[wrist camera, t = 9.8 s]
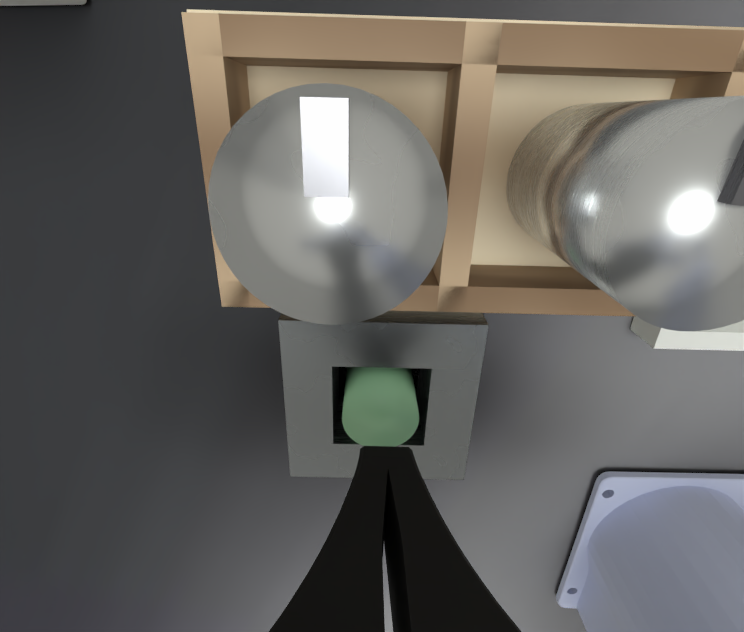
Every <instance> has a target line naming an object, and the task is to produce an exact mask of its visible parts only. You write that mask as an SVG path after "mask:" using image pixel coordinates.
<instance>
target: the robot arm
mask: <svg viewBox="0 0 744 632" xmlns="http://www.w3.org/2000/svg"><path fill="white" fill-rule="evenodd" d="M383 544H385V554H386V564H387V574H388V583H389V593H390V603H391V612H392V622H393V632H521V631H520V629H519V628H518V627H517V626H516V625H515V623H514V622H513V621H512V620H511V618H510V617H509V616H508V615H507V613H506V612H505V611H504V610H503V609H502V607H501V606H500V605H499V604H498V602H497V601H496V600H495V598H494V597H493V595H492V594H491V593H490V591H489V590H488V589H487V587H486V586H485V585H484V583H483V582H482V580H481V579H480V578H479V576H478V575H477V573H476V572H475V570H474V569H473V567H472V566H471V564H470V563H469V561H468V560H467V558H466V557H465V555H464V554H463V552H462V551H461V549H460V547H459V546H458V544H457V542H456V541H455V539H454V537H453V536H452V534H451V532H450V531H449V529H448V527H447V525H446V524H445V522H444V520H443V518H442V517H441V515H440V513H439V511H438V509H437V507H436V505H435V503H434V501H433V499H432V497H431V495H430V493H429V491H428V489H427V487H426V485H425V482H424V480H423V478H422V476H421V473H420V471H419V468H418V466H417V463H416V460H415V457H414V454H413V451H412V449H410V448H409V447H394V446H363V447H362V448H361V449H360V454H359V459H358V464H357V467H356V471H355V474H354V477H353V480H352V483H351V486H350V488H349V491H348V493H347V496H346V498H345V501H344V503H343V506H342V508H341V510H340V513H339V515H338V517H337V519H336V521H335V523H334V525H333V527H332V529H331V532H330V534H329V536H328V538H327V540H326V542H325V544H324V545H323V547H322V549H321V551H320V553H319V555H318V556H317V558H316V560H315V562H314V563H313V565H312V567H311V569H310V570H309V572H308V574H307V575H306V577H305V579H304V580H303V582H302V583H301V585H300V587H299V588H298V590H297V591H296V593H295V595H294V596H293V598H292V599H291V601H290V602H289V604H288V605H287V607H286V608H285V610H284V611H283V613H282V614H281V616H280V617H279V618H278V620H277V621H276V623H275V624H274V625H273V627H272V628H271V629H270V631H269V632H385V628H384V600H383V570H382V557H383ZM556 600H557V602H558V604H559V606H561V607H563V608H577V609H578V612H579V614H580V617H581V619H582V622H583V624H584V626H585V629H586V631H587V632H744V474H715V473H663V472H611V471H609V472H604V473H601V474H600V475H599V476H598V477H597V479H596V482H595V484H594V487H593V490H592V493H591V496H590V499H589V502H588V505H587V508H586V511H585V513H584V516H583V519H582V522H581V525H580V528H579V531H578V534H577V537H576V540H575V542H574V545H573V548H572V551H571V554H570V557H569V560H568V563H567V566H566V569H565V571H564V574H563V577H562V580H561V583H560V586H559V589H558V592H557V595H556Z"/></svg>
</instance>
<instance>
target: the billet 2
mask: <svg viewBox="0 0 744 632" xmlns="http://www.w3.org/2000/svg"><path fill="white" fill-rule="evenodd" d="M507 200H508V204H509V208H510V210H511V213H512V215H513V217H514V218H515V220H516V222H517V223H518V224H519V225H520V227H521V228H522V229H523V230H524V231H525V232H527V233H528V234H529V235H530V236H532V237H533V238H534V239H536V240H537V241H538V242H540V243H541V244H542V245H543V246H545V247H546V248H547V249H549V250H550V251H551V252H553V253H554V254H555V255H557V256H558V257H559V258H560V259H562V260H563V261H564V262H566V263H567V264H568V265H570V266H571V267H572V268H574V269H575V270H576V271H578V272H579V273H580V274H581V275H583V276H584V277H585V278H587V279H588V280H589V281H591V282H592V283H593V284H595V285H596V286H597V287H598V288H600V289H601V290H602V291H604V292H605V293H606V294H608V295H609V296H610V297H612V298H613V299H614V300H615V301H617V302H618V303H619V304H621V305H622V306H623V307H625V308H626V309H627V310H629V311H630V312H631V313H632V314H634V315H635V316H637V317H638V318H640V319H641V320H643V321H645V322H647V323H649V324H652V325H654V326H657V327H660V328H664V329H668V330H675V331H704V330H711V329H716V328H721V327H725V326H728V325H731V324H735V323H738V322H740V321H743V320H744V96H725V97H705V98H685V99H665V100H646V101H626V102H606V103H586V104H578V105H573V106H569V107H566V108H563V109H561V110H559V111H556V112H555V113H553V114H551V115H549V116H548V117H546V118H545V119H543V120H542V121H541V122H539V123H538V124H537V125H536V126H535V127H534V128H533V129H532V130H531V131H530V132H529V133H528V134H527V135H526V137H525V138H524V139H523V141H522V142H521V144H520V145H519V147H518V149H517V150H516V152H515V154H514V156H513V159H512V161H511V164H510V168H509V171H508V177H507Z"/></svg>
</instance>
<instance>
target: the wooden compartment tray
mask: <svg viewBox="0 0 744 632" xmlns="http://www.w3.org/2000/svg"><path fill="white" fill-rule="evenodd" d="M181 13H182V21H183V28H184V35H185V42H186V50H187V57H188V64H189V71H190V79H191V86H192V93H193V100H194V108H195V115H196V122H197V129H198V137H199V144H200V151H201V158H202V166H203V173H204V180H205V187H206V195H207V202H208V191H209V181H210V176H211V170H212V166H213V164H214V161H215V158H216V155H217V152H218V150H219V148H220V146H221V144H222V142H223V140H224V138H225V137H226V135H227V134H228V133H229V131H230V130H231V128H232V127H233V126H234V124H235V123H236V122H237V121H238V120H239V119H240V118H241V117H242V116H243V115H244V114H245V113H246V112H247V111H248V110H249V109H251V108H252V107H253V106H255V105H256V104H257V103H259V102H260V101H262V100H264V99H265V98H267V97H269V96H271V95H273V94H274V93H277V92H280V91H282V90H285V89H288V88H291V87H295V86H300V85H305V84H317V83H330V84H340V85H346V86H350V87H354V88H358V89H361V90H364V91H366V92H369V93H371V94H374V95H376V96H378V97H380V98H381V99H383V100H385V101H387V102H388V103H390V104H392V105H393V106H394V107H396V108H397V109H398V110H399V111H401V112H402V113H403V114H404V115H406V116H407V117H408V118H409V119H410V120H411V121H412V122H413V123H414V125H415V126H416V127H417V128H418V129H419V130H420V131H421V133H422V134H423V136H424V137H425V138H426V140H427V141H428V143H429V144H430V146H431V148H432V150H433V152H434V154H435V156H436V157H437V160H438V163H439V165H440V168H441V171H442V173H443V177H444V182H445V186H446V191H447V202H448V217H447V227H446V233H445V238H444V241H443V244H442V248H441V251H440V253H439V255H438V258H437V260H436V262H435V264H434V266H433V268H432V269H431V271H430V273H429V274H428V276H427V277H426V279H425V280H424V281H423V282H422V284H421V285H420V286H419V287H418V288H417V289H416V290H415V291H414V292H413V293H412V294H411V295H410V296H409V297H408V298H407V299H406V300H404V301H403V302H402V303H400V304H399V305H398V306H396V307H394V308H393V309H391V310H389V311H431V312H473V313H515V314H557V315H599V316H635V315H634V314H632V313H631V312H630V311H629V310H627V309H626V308H625V307H623V306H622V305H621V304H619V303H618V302H617V301H615V300H614V299H613V298H612V297H610V296H609V295H608V294H606V293H605V292H604V291H602V290H601V289H600V288H598V287H597V286H596V285H595V284H593V283H592V282H591V281H589V280H588V279H587V278H585V277H584V276H583V275H581V274H580V273H579V272H578V271H576V270H575V269H574V268H572V267H571V266H570V265H568V264H567V263H566V262H564V261H563V260H562V259H560V258H559V257H558V256H557V255H555V254H554V253H553V252H551V251H550V250H549V249H547V248H546V247H545V246H543V245H542V244H541V243H540V242H538V241H537V240H536V239H534V238H533V237H532V236H530V235H529V234H528V233H527V232H525V231H524V230H523V229H522V228H521V227H520V225H519V224H518V223H517V222H516V220H515V218H514V217H513V215H512V213H511V210H510V208H509V204H508V200H507V177H508V171H509V168H510V164H511V161H512V159H513V156H514V154H515V152H516V150H517V149H518V147H519V145H520V144H521V142H522V141H523V139H524V138H525V137H526V135H527V134H528V133H529V132H530V131H531V130H532V129H533V128H534V127H535V126H536V125H537V124H538V123H539V122H541V121H542V120H543V119H545V118H546V117H548V116H549V115H551V114H553V113H555V112H556V111H559V110H561V109H563V108H566V107H569V106H573V105H578V104H586V103H606V102H626V101H646V100H665V99H685V98H705V97H725V96H744V27H715V26H684V25H653V24H622V23H591V22H560V21H529V20H498V19H466V18H435V17H404V16H373V15H342V14H311V13H280V12H249V11H218V10H187V12H181ZM208 209H209V206H208ZM210 224H211V222H210ZM211 231H212V227H211ZM212 238H213V245H214V253H215V260H216V267H217V274H218V282H219V289H220V296H221V303H222V307H263V308H271V307H269V306H267V305H266V304H264V303H263V302H262V301H260V300H259V299H258V298H256V297H255V296H254V295H252V294H251V293H250V292H249V291H248V290H247V289H246V288H245V287H244V286H243V285H242V284H241V283H240V281H239V280H238V279H237V278H236V277H235V275H234V274H233V273H232V271H231V270H230V268H229V267H228V265H227V264H226V262H225V260H224V259H223V257H222V254H221V252H220V250H219V248H218V246H217V243H216V240H215V237H214V235H213V232H212Z"/></svg>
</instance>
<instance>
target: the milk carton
mask: <svg viewBox="0 0 744 632" xmlns="http://www.w3.org/2000/svg"><path fill="white" fill-rule="evenodd" d="M86 2H87V0H0V6H28V5H83V4H85V3H86Z"/></svg>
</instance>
